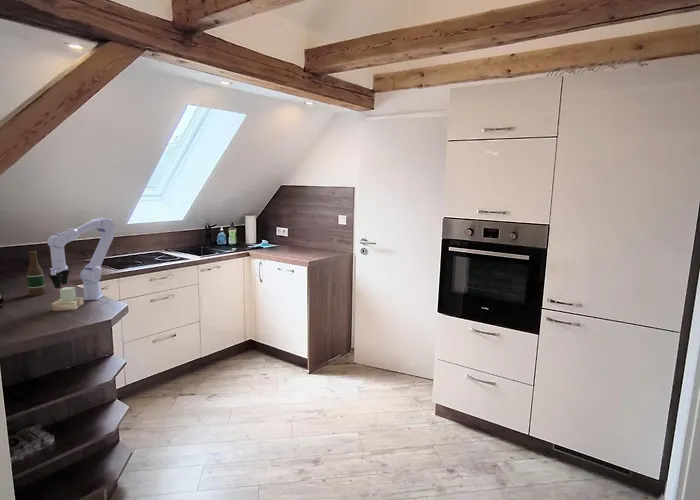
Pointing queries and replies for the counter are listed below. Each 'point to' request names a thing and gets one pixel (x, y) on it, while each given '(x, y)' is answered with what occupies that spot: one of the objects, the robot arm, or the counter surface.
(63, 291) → the sage block
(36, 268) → the beer bottle
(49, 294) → the counter surface
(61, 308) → the birch base
